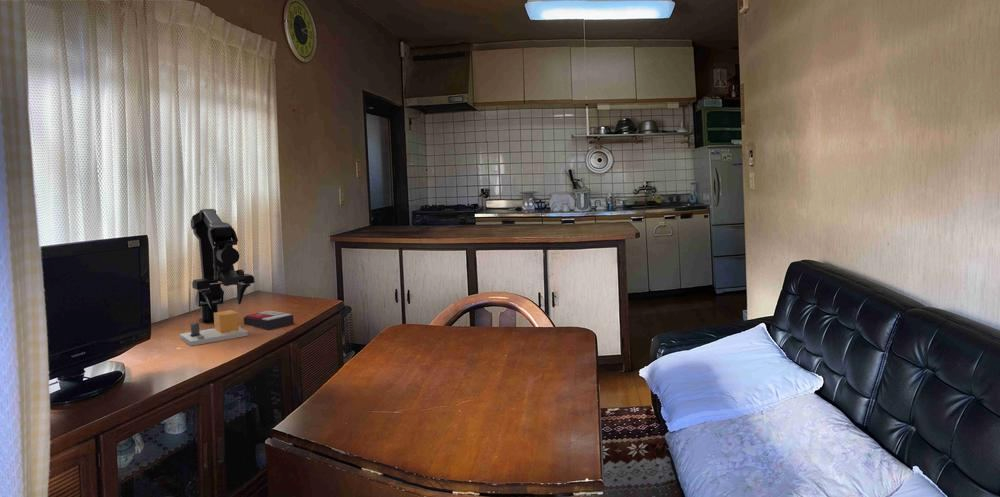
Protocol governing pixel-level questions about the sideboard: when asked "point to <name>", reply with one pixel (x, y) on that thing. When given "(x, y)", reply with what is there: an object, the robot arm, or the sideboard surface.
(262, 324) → the calculator
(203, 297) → the robot arm
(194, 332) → the breaker
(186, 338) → the panel
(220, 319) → the light orange cube
